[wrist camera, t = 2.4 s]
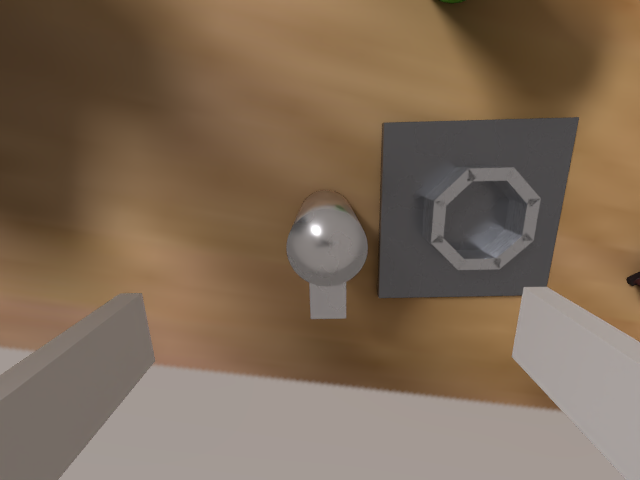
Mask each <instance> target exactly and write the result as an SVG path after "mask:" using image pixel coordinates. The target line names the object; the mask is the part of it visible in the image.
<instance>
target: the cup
mask: <svg viewBox="0 0 640 480" xmlns="http://www.w3.org/2000/svg"><path fill="white" fill-rule="evenodd" d="M440 1H442V2H447V3H459V2H462V1H465V0H440Z"/></svg>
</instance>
